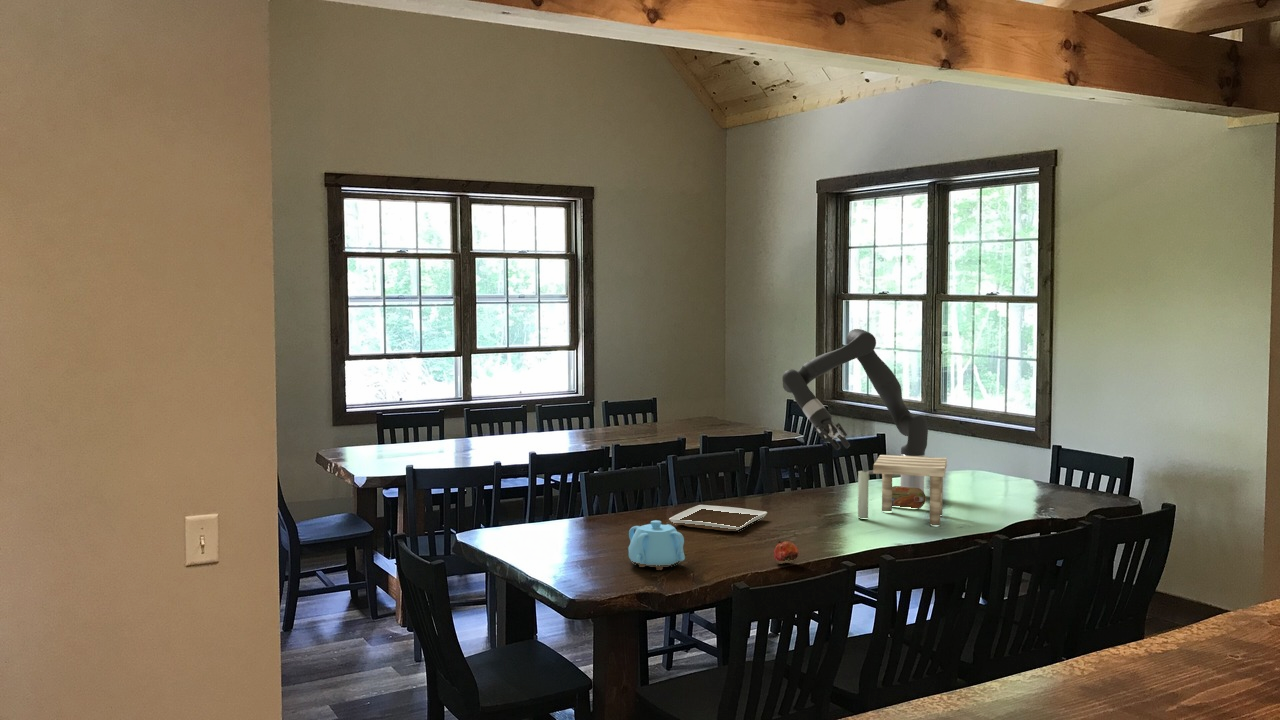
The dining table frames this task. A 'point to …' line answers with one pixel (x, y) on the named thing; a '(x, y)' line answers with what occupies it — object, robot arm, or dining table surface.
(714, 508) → the square plate
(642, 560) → the decorative pot
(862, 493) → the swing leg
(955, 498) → the dining table surface
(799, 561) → the dining table surface
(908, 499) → the tin
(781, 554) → the pomegranate
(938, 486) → the stool
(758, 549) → the dining table surface
